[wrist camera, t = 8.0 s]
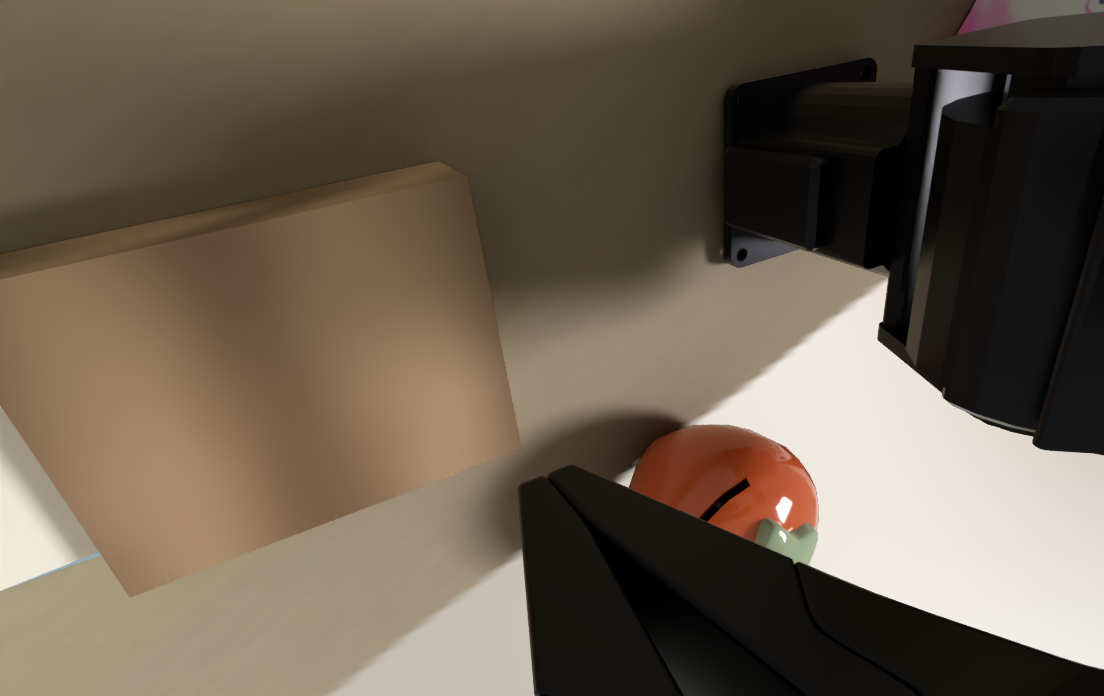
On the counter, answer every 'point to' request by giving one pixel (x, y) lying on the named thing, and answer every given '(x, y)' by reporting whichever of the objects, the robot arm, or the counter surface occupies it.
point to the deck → (255, 366)
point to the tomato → (734, 485)
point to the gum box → (1023, 11)
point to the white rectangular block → (33, 515)
